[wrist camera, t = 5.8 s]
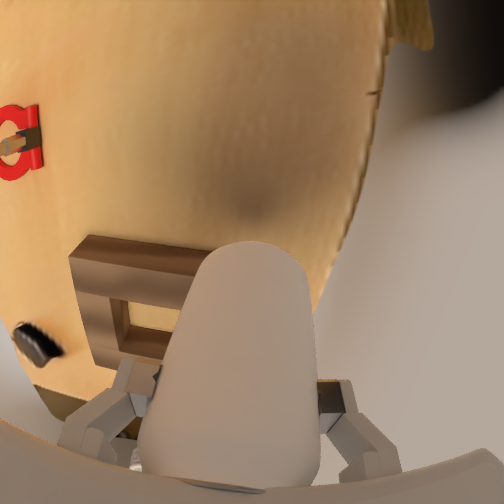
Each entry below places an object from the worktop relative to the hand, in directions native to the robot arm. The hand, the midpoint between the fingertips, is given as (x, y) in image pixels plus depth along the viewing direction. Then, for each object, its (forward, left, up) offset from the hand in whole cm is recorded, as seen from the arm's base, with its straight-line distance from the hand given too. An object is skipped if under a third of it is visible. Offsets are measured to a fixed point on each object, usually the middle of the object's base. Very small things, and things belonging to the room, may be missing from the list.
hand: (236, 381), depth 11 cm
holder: (+13, -8, -19) cm, 24 cm away
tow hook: (-5, -26, -19) cm, 33 cm away
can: (+1, +1, -7) cm, 7 cm away
